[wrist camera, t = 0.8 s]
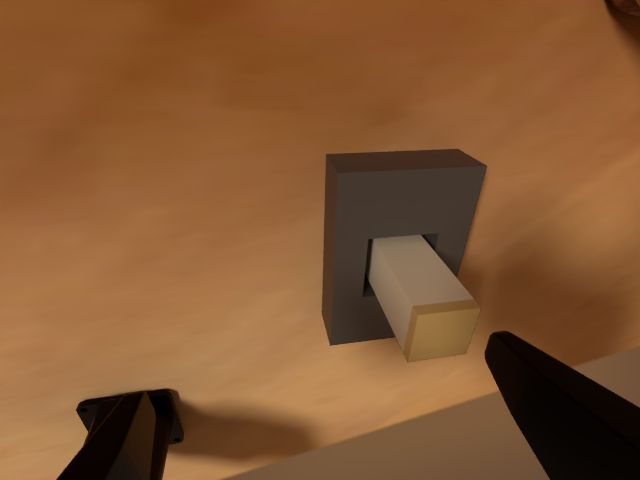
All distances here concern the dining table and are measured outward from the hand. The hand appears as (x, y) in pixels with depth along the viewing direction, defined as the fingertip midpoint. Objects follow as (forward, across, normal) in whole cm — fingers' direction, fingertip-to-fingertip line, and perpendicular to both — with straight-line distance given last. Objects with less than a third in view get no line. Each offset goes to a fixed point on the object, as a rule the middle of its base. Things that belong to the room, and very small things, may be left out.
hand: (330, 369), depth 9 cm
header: (+13, -6, +5) cm, 15 cm away
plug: (+13, -6, +5) cm, 15 cm away
